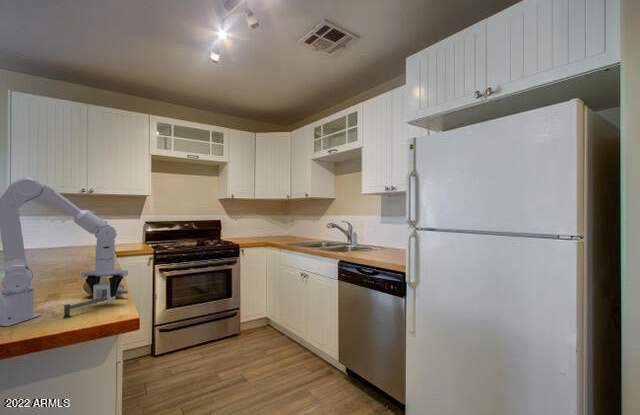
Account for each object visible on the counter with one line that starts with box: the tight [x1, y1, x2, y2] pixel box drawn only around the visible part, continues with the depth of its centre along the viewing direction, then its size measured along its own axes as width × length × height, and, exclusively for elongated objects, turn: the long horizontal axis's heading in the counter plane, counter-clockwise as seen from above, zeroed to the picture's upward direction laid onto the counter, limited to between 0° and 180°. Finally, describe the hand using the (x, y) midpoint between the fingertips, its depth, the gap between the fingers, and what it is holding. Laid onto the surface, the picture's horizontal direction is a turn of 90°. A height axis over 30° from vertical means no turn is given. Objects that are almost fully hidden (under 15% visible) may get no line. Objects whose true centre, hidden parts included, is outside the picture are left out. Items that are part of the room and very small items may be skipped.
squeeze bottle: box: [82, 276, 129, 298], centre depth 119 cm, size 8×8×18 cm
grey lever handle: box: [62, 294, 107, 319], centre depth 106 cm, size 20×6×4 cm, turn 171°
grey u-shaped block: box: [92, 282, 116, 305], centre depth 109 cm, size 4×5×6 cm
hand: (104, 296), depth 109 cm, fingers closed on grey u-shaped block, 5 cm apart
